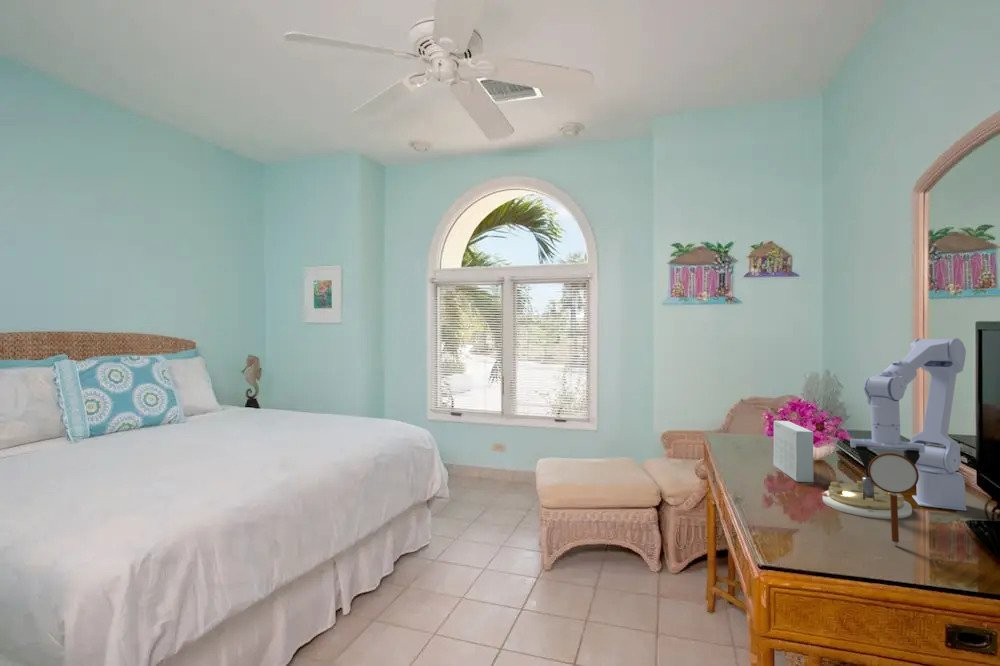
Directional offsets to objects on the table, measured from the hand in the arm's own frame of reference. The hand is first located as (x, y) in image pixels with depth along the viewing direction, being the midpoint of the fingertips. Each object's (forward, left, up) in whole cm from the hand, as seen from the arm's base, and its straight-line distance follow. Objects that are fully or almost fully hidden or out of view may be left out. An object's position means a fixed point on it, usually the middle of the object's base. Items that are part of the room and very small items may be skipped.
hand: (887, 478), depth 122 cm
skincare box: (+20, -34, -10) cm, 40 cm away
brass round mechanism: (+4, -7, -8) cm, 11 cm away
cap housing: (+4, -7, -9) cm, 12 cm away
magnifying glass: (+2, +20, -10) cm, 22 cm away
